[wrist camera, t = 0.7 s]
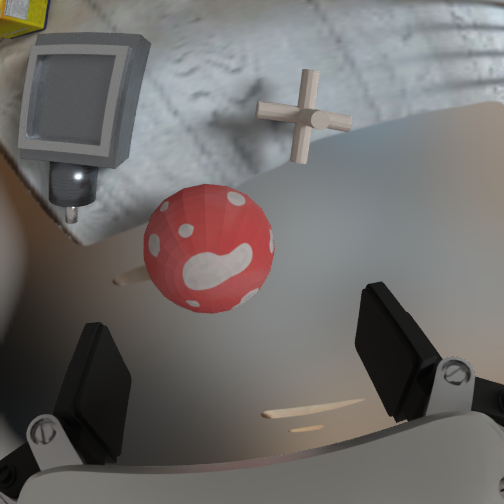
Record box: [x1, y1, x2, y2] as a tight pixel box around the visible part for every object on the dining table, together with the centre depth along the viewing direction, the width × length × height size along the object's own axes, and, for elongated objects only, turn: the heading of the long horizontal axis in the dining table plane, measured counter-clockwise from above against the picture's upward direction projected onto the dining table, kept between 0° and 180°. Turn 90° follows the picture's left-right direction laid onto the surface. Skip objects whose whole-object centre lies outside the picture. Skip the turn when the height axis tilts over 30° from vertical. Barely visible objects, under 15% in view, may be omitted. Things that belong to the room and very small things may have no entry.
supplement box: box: [0, 0, 50, 39], centre depth 19 cm, size 6×6×11 cm
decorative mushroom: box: [144, 184, 274, 313], centre depth 34 cm, size 13×13×15 cm
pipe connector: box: [256, 69, 352, 164], centre depth 31 cm, size 10×10×10 cm
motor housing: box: [18, 32, 151, 224], centre depth 29 cm, size 22×12×8 cm, turn 166°
